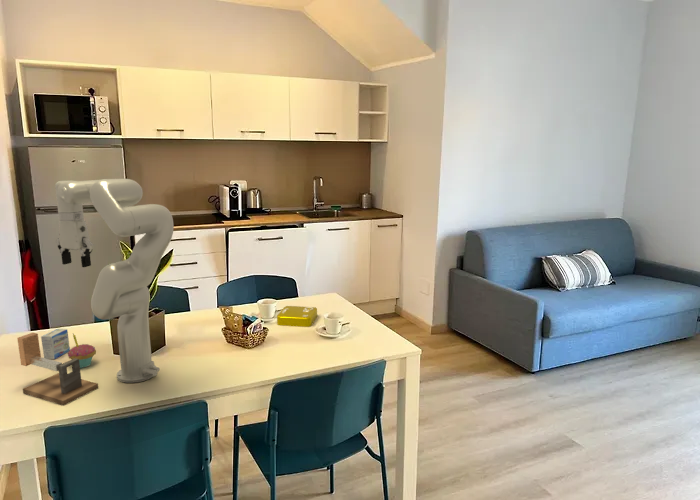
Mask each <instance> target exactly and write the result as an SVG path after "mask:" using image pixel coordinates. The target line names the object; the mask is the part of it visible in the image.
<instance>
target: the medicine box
mask: <svg viewBox="0 0 700 500" xmlns="http://www.w3.org/2000/svg"><path fill="white" fill-rule="evenodd" d="M40 338H41V346H42V347H41V348H42V352H43V358H46V359H50V360H56V359H58V358H60V357H61V356H63V355H65V354H68V352H69V351H70V350H71V347H70V340H69V332H68V329H66V328H57V329H54V330H52V331H50V332H48V333H45V334H43V335H41V336H40Z"/></svg>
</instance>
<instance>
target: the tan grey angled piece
mask: <svg viewBox="0 0 700 500" xmlns="http://www.w3.org/2000/svg"><path fill="white" fill-rule="evenodd" d="M17 345H18V352H19V360H20V365H21V366H25V367H28V366H30V365H31V366H35V367H39V368H43V369H47V370H51V371H53V372H54V371H55V372H59V369H58V365H60V364H63V362H61V361H57V360H54V359H46V358H44V357H42V355H41V349H40V341H39V334H38V333H36V332H31V333H27V334H25V335H22V336H19V337H17Z"/></svg>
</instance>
